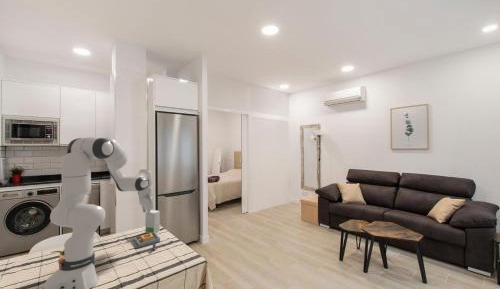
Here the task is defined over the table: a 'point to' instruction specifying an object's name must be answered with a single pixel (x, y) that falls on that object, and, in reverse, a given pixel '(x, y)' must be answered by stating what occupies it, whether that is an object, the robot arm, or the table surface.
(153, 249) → the stake
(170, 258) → the table surface
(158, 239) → the tray
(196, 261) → the table surface
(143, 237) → the orange hollow block
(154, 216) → the skincare box
